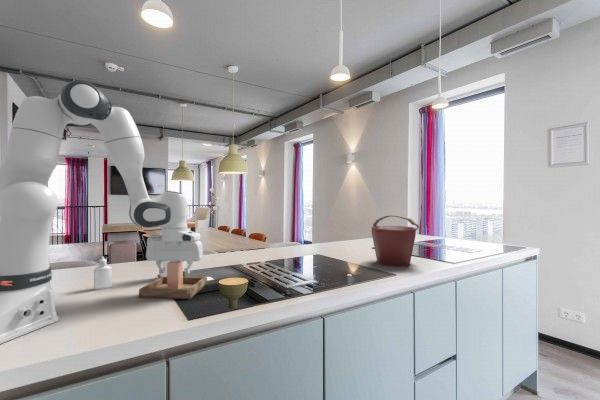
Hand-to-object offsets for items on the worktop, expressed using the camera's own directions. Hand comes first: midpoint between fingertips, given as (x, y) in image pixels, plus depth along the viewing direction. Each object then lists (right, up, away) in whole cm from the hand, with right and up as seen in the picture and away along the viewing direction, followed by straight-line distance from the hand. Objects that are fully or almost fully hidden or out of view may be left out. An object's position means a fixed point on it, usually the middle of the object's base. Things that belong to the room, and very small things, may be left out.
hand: (174, 272), depth 110 cm
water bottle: (-10, -7, +18) cm, 22 cm away
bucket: (+95, -6, +46) cm, 106 cm away
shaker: (0, -6, 0) cm, 6 cm away
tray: (0, -7, 0) cm, 7 cm away
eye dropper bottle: (-29, -7, +4) cm, 30 cm away
